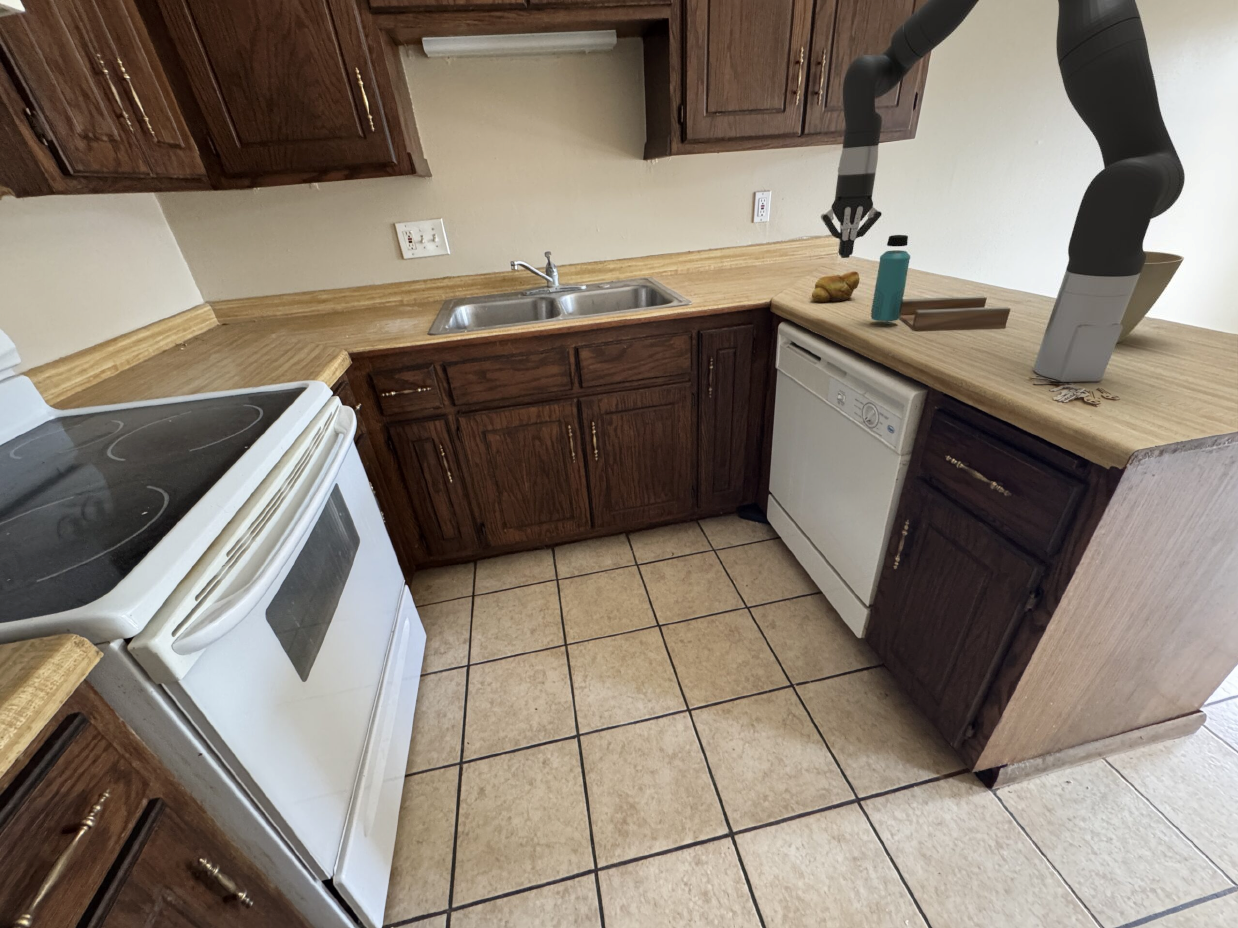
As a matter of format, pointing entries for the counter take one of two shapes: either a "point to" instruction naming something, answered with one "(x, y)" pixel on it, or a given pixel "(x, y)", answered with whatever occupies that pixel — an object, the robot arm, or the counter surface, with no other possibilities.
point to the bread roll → (835, 287)
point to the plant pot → (1149, 288)
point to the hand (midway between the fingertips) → (844, 257)
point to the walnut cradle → (952, 314)
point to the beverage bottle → (891, 281)
